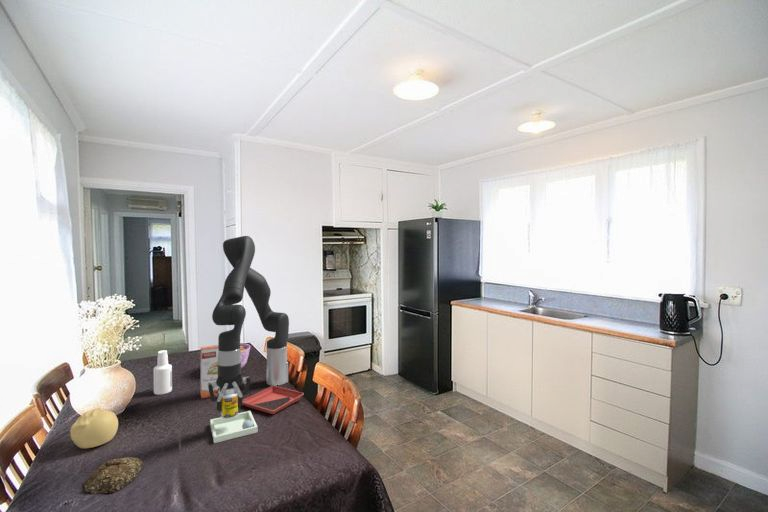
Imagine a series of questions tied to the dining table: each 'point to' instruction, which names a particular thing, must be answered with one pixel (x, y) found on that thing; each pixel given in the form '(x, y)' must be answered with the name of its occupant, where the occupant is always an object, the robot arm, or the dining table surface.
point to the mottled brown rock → (113, 475)
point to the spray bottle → (162, 374)
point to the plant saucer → (272, 398)
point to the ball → (247, 424)
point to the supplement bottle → (229, 404)
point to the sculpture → (94, 428)
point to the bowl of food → (244, 353)
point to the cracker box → (209, 369)
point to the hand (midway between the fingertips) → (229, 408)
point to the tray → (232, 427)
